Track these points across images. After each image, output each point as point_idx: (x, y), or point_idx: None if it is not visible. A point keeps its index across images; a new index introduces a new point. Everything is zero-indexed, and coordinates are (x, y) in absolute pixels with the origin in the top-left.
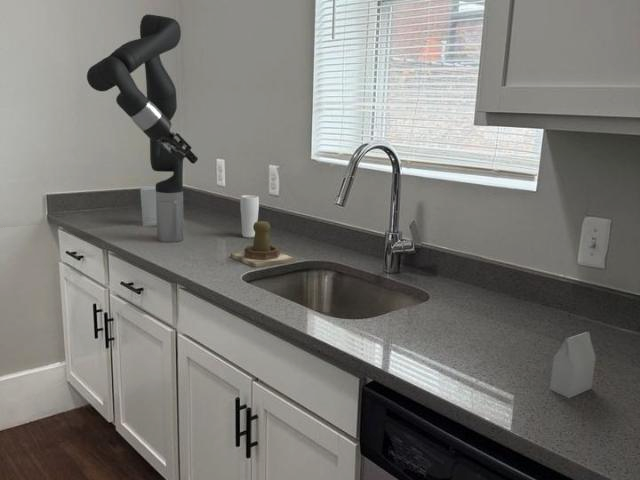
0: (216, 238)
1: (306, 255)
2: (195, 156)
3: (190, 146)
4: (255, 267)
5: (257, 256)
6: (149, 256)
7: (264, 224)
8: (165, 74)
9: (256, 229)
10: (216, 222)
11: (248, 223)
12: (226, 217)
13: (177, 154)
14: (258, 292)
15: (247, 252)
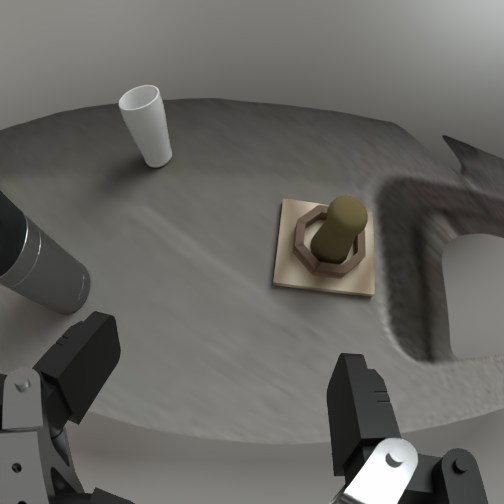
0: (123, 210)
1: (343, 173)
2: (366, 374)
3: (477, 466)
4: (370, 296)
5: (351, 269)
6: (153, 414)
7: (366, 216)
8: None
9: (353, 236)
10: (51, 150)
11: (160, 145)
12: (47, 125)
13: (90, 382)
14: (471, 374)
15: (327, 273)
